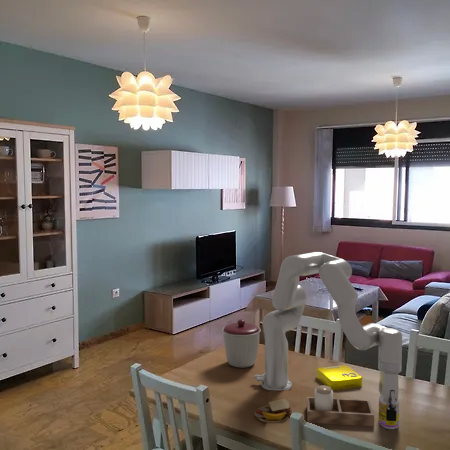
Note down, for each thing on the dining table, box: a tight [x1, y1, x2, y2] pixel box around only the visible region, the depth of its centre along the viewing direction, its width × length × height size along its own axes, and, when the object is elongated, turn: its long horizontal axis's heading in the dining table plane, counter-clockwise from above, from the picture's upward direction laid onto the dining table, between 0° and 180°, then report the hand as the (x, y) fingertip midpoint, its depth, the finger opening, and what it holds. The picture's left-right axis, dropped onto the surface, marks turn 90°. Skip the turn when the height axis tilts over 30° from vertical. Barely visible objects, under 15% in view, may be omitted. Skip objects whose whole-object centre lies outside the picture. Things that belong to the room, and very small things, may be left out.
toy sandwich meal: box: [254, 398, 293, 424], centre depth 175 cm, size 12×14×5 cm
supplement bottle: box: [378, 395, 400, 430], centre depth 167 cm, size 7×7×13 cm
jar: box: [314, 384, 334, 412], centre depth 173 cm, size 6×6×10 cm
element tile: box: [316, 364, 363, 391], centre depth 205 cm, size 15×15×5 cm
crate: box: [306, 396, 375, 427], centre depth 172 cm, size 22×12×5 cm, turn 82°
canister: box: [221, 319, 262, 369], centre depth 225 cm, size 18×18×21 cm
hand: (388, 414), depth 167 cm, fingers open, 7 cm apart
